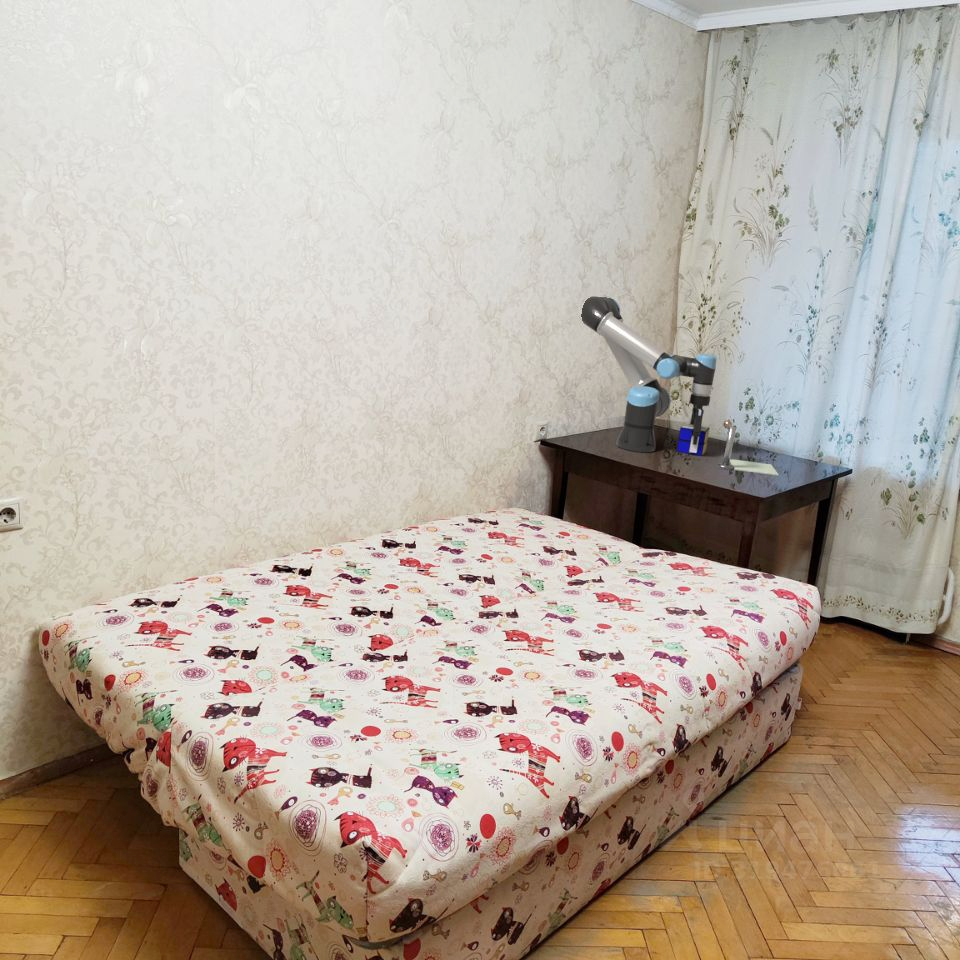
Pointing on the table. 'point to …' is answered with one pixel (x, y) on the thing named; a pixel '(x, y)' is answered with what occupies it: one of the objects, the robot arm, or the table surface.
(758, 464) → the sage mat
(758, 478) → the table surface
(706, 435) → the puzzle cube
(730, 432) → the hook post
